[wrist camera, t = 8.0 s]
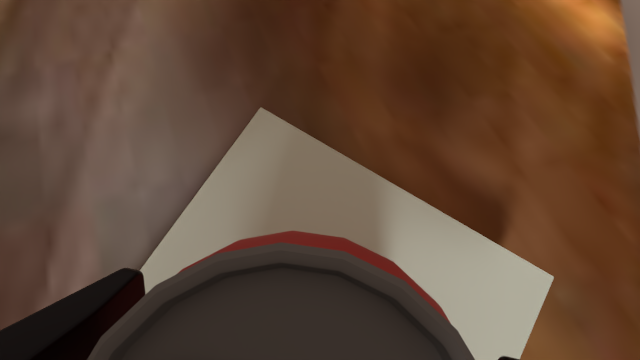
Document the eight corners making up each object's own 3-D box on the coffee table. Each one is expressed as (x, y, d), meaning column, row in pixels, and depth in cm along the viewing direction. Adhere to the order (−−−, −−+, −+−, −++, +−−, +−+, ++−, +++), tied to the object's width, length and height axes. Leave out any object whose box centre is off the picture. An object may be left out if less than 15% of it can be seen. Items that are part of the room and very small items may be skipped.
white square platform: (509, 278, 20) (554, 276, 16) (366, 592, 16) (381, 686, 12) (270, 137, 22) (260, 107, 19) (95, 382, 19) (38, 407, 15)
